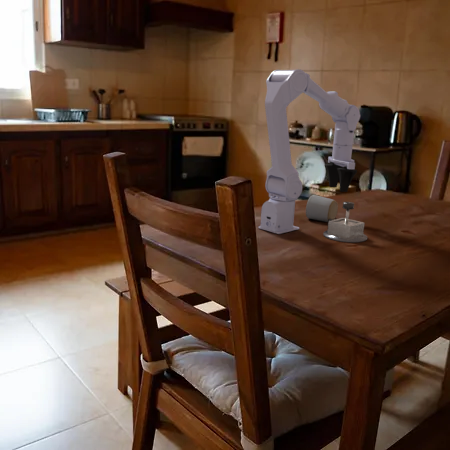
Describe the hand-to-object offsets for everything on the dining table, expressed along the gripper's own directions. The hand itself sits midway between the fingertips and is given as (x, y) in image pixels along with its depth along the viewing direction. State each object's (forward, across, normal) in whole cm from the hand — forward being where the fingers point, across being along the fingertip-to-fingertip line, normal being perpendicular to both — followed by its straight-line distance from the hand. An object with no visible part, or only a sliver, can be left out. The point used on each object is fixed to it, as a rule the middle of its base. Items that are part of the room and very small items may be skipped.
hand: (338, 189), depth 157 cm
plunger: (+7, -17, +5) cm, 19 cm away
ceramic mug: (+10, +2, +3) cm, 11 cm away
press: (+10, -17, +5) cm, 21 cm away
